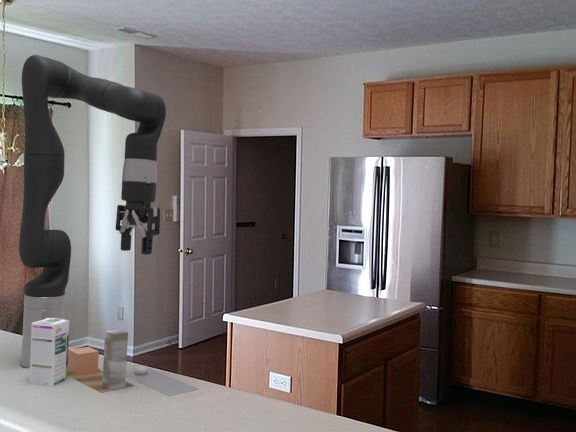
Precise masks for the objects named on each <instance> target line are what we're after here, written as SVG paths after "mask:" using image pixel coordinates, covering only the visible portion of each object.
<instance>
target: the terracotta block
mask: <svg viewBox="0 0 576 432" xmlns="http://www.w3.org/2000/svg"><path fill="white" fill-rule="evenodd" d="M99 352H100V351H99V350H97V349H95V348H92V347H90V346H86V347H77V348H71V349H70V348H69V349H68V372H70V373H72V374H74V375H76V376H81V375H87V374H92V373H98V369H99V355H100V353H99Z"/></svg>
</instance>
